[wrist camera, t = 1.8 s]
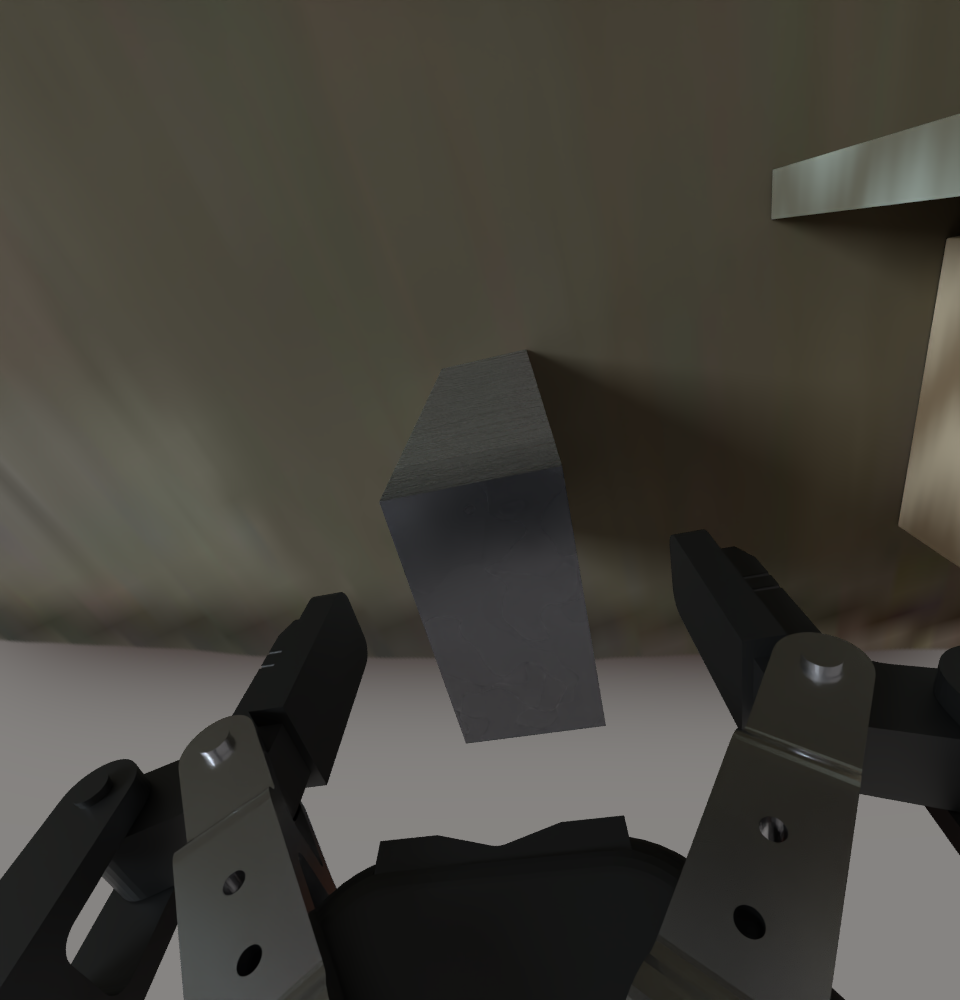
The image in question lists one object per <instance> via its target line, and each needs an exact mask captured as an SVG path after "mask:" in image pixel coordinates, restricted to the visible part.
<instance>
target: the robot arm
mask: <svg viewBox="0 0 960 1000" xmlns="http://www.w3.org/2000/svg"><path fill="white" fill-rule="evenodd" d="M670 555H671V569H672V582H673V593H674V598H675V602H676V606H677V609H678V612H679V614H680V616H681V618H682V620H683V622H684V624H685V626H686V628H687V630H688V632H689V634H690V636H691V638H692V640H693V642H694V644H695V645H696V647H697V649H698V651H699V653H700V655H701V657H702V659H703V661H704V663H705V665H706V667H707V669H708V670H709V673H710V674H711V676H712V678H713V680H714V682H715V684H716V686H717V688H718V690H719V692H720V694H721V696H722V697H723V700H724V701H725V703H726V705H727V707H728V709H729V711H730V713H731V715H732V717H733V719H734V721H735V723H736V725H737V727H738V728H737V729H736V730H735V732H734V734H733V736H732V738H731V740H730V743H729V746H728V748H727V751H726V754H725V756H724V759H723V762H722V765H721V767H720V770H719V773H718V775H717V778H716V781H715V784H714V786H713V789H712V792H711V794H710V797H709V799H708V802H707V805H706V808H705V810H704V813H703V816H702V818H701V821H700V824H699V826H698V829H697V832H696V835H695V837H694V840H693V843H692V846H691V848H690V851H689V853H688V856H687V858H685V857H683V856H682V855H680V854H678V853H677V852H675V851H672V850H670V849H668V848H666V847H663V846H661V845H658V844H655V843H652V842H649V841H646V840H642V839H637V838H632V837H629V835H628V830H627V826H626V822H625V817H624V816H615V817H605V818H596V819H586V820H577V821H568V822H560V823H558V824H555V825H553V826H551V827H548V828H545V829H543V830H540V831H538V832H535V833H533V834H530V835H528V836H525V837H523V838H520V839H517V840H515V841H513V842H510V843H507V844H505V845H501V846H490V845H485V844H480V843H475V842H470V841H464V840H459V839H454V838H449V837H443V836H438V835H436V836H426V837H417V838H407V839H399V840H389V841H381V842H380V846H379V851H378V856H377V861H376V865H373V866H371V867H369V868H367V869H365V870H363V871H362V872H360V873H358V874H356V875H355V876H353V877H352V878H351V879H349V880H348V881H346V882H345V883H343V884H342V885H341V886H340V887H338V888H336V886H335V884H334V881H333V879H332V877H331V874H330V872H329V869H328V867H327V864H326V861H325V858H324V856H323V853H322V851H321V848H320V846H319V843H318V840H317V838H316V835H315V832H314V830H313V827H312V825H311V822H310V819H309V817H308V814H307V812H306V809H305V807H304V805H303V804H302V802H301V798H302V796H303V793H304V790H305V788H307V787H315V786H323V785H327V783H328V780H329V777H330V774H331V771H332V767H333V764H334V761H335V758H336V755H337V752H338V749H339V746H340V743H341V740H342V736H343V734H344V730H345V728H346V725H347V721H348V718H349V715H350V712H351V709H352V706H353V703H354V699H355V697H356V694H357V691H358V688H359V685H360V682H361V679H362V675H363V672H364V669H365V666H366V662H367V644H366V640H365V637H364V635H363V632H362V630H361V628H360V625H359V623H358V621H357V618H356V616H355V613H354V611H353V609H352V606H351V604H350V602H349V599H348V597H347V596H346V595H345V594H344V593H342V592H339V593H334V594H328V595H322V596H316V597H313V598H311V599H310V601H309V603H308V604H307V606H306V608H305V610H304V612H303V613H302V615H301V617H300V619H299V620H295V621H293V622H292V623H291V624H290V625H289V626H288V627H287V628H286V629H285V630H284V631H283V632H282V633H281V634H280V635H279V636H278V638H277V640H276V641H275V643H274V645H273V647H272V648H271V650H270V655H267V657H266V659H265V660H264V662H263V664H262V665H261V666H262V669H259V671H258V672H257V674H256V676H255V677H254V679H253V681H252V683H251V684H250V686H249V688H248V689H247V691H246V693H245V694H244V696H243V698H242V700H241V701H240V703H239V705H238V707H237V708H236V710H235V712H234V713H233V715H232V716H229V717H226V718H223V719H221V720H218V721H217V722H215V723H213V724H211V725H210V726H208V727H207V728H205V729H204V730H203V731H202V732H200V733H199V734H198V735H197V736H196V737H195V738H194V739H193V740H192V741H191V742H190V743H189V745H188V746H187V747H186V749H185V750H184V752H183V754H182V756H181V758H180V760H178V761H175V762H173V763H170V764H168V765H165V766H163V767H161V768H158V769H156V770H153V771H151V772H148V773H146V774H143V773H142V771H141V770H140V769H139V767H138V766H137V765H136V764H135V763H134V762H133V761H131V760H129V759H122V760H116V761H113V762H110V763H108V764H106V765H103V766H101V767H100V768H98V769H96V770H94V771H93V772H91V773H90V774H88V775H87V776H85V777H84V778H83V779H82V780H80V781H79V782H78V783H77V784H76V785H75V786H73V787H72V788H71V789H70V790H69V792H68V793H67V794H66V795H65V796H64V797H63V798H62V800H61V801H60V802H59V803H58V805H57V806H56V807H55V809H54V810H53V811H52V813H51V814H50V815H49V817H48V818H47V819H46V821H45V822H44V823H43V825H42V826H41V827H40V828H39V830H38V831H37V832H36V834H35V835H34V836H33V838H32V839H31V840H30V841H29V843H28V844H27V845H26V847H25V848H24V849H23V851H22V852H21V853H20V855H19V856H18V857H17V858H16V860H15V861H14V863H13V864H12V865H11V866H10V868H9V869H8V870H7V872H6V873H5V874H4V876H3V877H2V878H1V880H0V1000H144V999H145V997H146V994H147V992H148V990H149V987H150V985H151V983H152V981H153V979H154V976H155V974H156V972H157V969H158V967H159V965H160V962H161V960H162V958H163V956H164V953H165V951H166V949H167V947H168V944H169V942H170V940H171V938H172V935H173V933H174V931H175V929H176V926H177V924H178V935H179V948H180V960H181V971H182V984H183V997H184V1000H845V999H844V998H843V997H842V996H840V995H839V994H838V993H837V992H836V991H835V990H834V989H833V988H832V982H833V975H834V968H835V961H836V954H837V947H838V940H839V932H840V926H841V918H842V912H843V905H844V897H845V890H846V883H847V877H848V870H849V862H850V856H851V848H852V841H853V834H854V827H855V820H856V813H857V806H858V799H859V794H864V795H870V796H874V797H880V798H885V799H891V800H897V801H902V802H907V803H912V804H918V805H924V806H925V807H926V809H927V810H928V811H929V813H930V814H931V815H932V817H933V818H934V820H935V821H936V823H937V824H938V825H939V827H940V828H941V829H942V831H943V832H944V834H945V835H946V837H947V838H948V839H949V841H950V842H951V844H952V845H953V846H954V848H955V849H956V851H957V852H958V853H959V855H960V646H957V647H954V648H951V649H949V650H947V651H946V652H945V653H944V654H943V655H942V656H941V658H940V660H939V665H938V668H927V667H915V666H904V665H894V664H886V663H879V662H874V661H871V660H870V658H869V657H868V656H867V655H866V654H865V653H864V652H863V651H861V650H860V649H859V648H857V647H856V646H854V645H853V644H851V643H849V642H847V641H845V640H843V639H840V638H838V637H835V636H831V635H827V634H822V633H821V632H820V631H819V630H818V629H817V628H816V626H815V625H814V624H813V623H812V622H811V621H810V620H809V618H808V617H807V616H806V615H805V614H804V613H803V612H802V610H801V609H800V608H799V607H798V606H797V605H796V604H795V602H794V601H793V600H792V599H791V598H790V597H789V596H788V594H787V593H786V592H785V591H784V590H783V589H782V588H780V587H779V584H778V583H777V582H776V581H775V579H774V578H773V577H772V576H771V575H769V574H768V571H767V570H766V569H765V568H764V567H763V566H762V565H761V563H760V562H759V561H758V560H757V559H756V558H755V557H754V556H752V555H750V554H748V553H746V552H744V551H742V550H740V549H738V548H737V547H735V546H734V547H728V548H722V549H721V548H720V547H719V546H718V544H717V543H716V542H715V541H714V539H713V538H712V537H711V535H710V534H709V533H708V532H707V531H706V530H704V529H703V530H697V531H692V532H686V533H680V534H675V535H671V536H670ZM101 877H103V878H104V879H105V880H106V881H107V882H108V883H109V884H110V885H111V886H112V887H113V888H114V889H113V891H112V893H111V895H110V896H109V898H108V900H107V902H106V903H105V905H104V907H103V909H102V911H101V912H100V914H99V916H98V918H97V919H96V921H95V923H94V925H93V926H92V929H91V930H90V932H89V934H88V935H87V937H86V939H85V941H84V942H83V944H82V946H81V948H80V950H79V951H78V953H77V955H76V956H75V958H74V960H73V962H72V963H71V964H70V963H69V962H68V960H67V957H66V942H67V938H68V935H69V932H70V930H71V927H72V925H73V924H74V922H75V920H76V918H77V917H78V915H79V913H80V912H81V910H82V908H83V907H84V905H85V903H86V902H87V900H88V898H89V897H90V895H91V893H92V892H93V890H94V888H95V887H96V885H97V883H98V882H99V880H100V878H101Z"/></svg>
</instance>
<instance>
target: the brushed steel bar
mask: <svg viewBox="0 0 960 1000" xmlns="http://www.w3.org/2000/svg"><path fill="white" fill-rule="evenodd" d="M380 505H381V508H382V511H383V513H384V516H385V519H386V522H387V524H388V527H389V530H390V533H391V536H392V538H393V541H394V544H395V547H396V550H397V552H398V555H399V558H400V561H401V563H402V566H403V569H404V572H405V575H406V577H407V580H408V583H409V586H410V589H411V591H412V594H413V597H414V600H415V602H416V605H417V608H418V611H419V614H420V616H421V619H422V622H423V625H424V627H425V630H426V633H427V636H428V639H429V641H430V644H431V647H432V650H433V653H434V655H435V658H436V661H437V663H438V666H439V669H440V672H441V675H442V678H443V680H444V683H445V686H446V688H447V691H448V694H449V697H450V700H451V703H452V705H453V708H454V711H455V714H456V717H457V719H458V722H459V725H460V727H461V730H462V733H463V736H464V739H465V742H466V743H474V742H482V741H489V740H497V739H505V738H513V737H521V736H528V735H535V734H536V735H537V734H544V733H552V732H560V731H568V730H575V729H583V728H591V727H599V726H606V724H605V718H604V712H603V706H602V701H601V695H600V689H599V683H598V677H597V671H596V665H595V659H594V653H593V647H592V641H591V635H590V629H589V623H588V617H587V611H586V605H585V599H584V593H583V587H582V582H581V576H580V570H579V564H578V558H577V552H576V546H575V540H574V534H573V528H572V522H571V516H570V510H569V504H568V498H567V492H566V486H565V480H564V474H563V469H562V464H561V461H560V458H559V454H558V451H557V448H556V445H555V441H554V438H553V435H552V432H551V428H550V425H549V422H548V419H547V415H546V412H545V409H544V406H543V402H542V399H541V396H540V393H539V389H538V386H537V383H536V380H535V376H534V373H533V370H532V367H531V364H530V360H529V357H528V354H527V351H526V350H522V351H518V352H514V353H509V354H505V355H500V356H496V357H492V358H487V359H483V360H479V361H474V362H470V363H466V364H461V365H457V366H453V367H448V368H444V369H442V370H441V372H440V374H439V376H438V378H437V380H436V382H435V385H434V387H433V389H432V391H431V393H430V395H429V397H428V399H427V402H426V404H425V406H424V408H423V410H422V412H421V414H420V416H419V419H418V421H417V423H416V425H415V427H414V429H413V431H412V434H411V436H410V438H409V440H408V442H407V444H406V446H405V448H404V451H403V453H402V455H401V457H400V459H399V461H398V463H397V465H396V468H395V470H394V472H393V474H392V476H391V478H390V480H389V482H388V485H387V487H386V489H385V491H384V493H383V495H382V497H381V499H380Z"/></svg>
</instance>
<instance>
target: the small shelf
mask: <svg viewBox="0 0 960 1000" xmlns="http://www.w3.org/2000/svg"><path fill="white" fill-rule="evenodd" d="M957 196H960V114H957V115H954V116H950V117H947V118H944V119H940V120H937V121H934V122H930V123H927V124H924V125H920V126H917V127H914V128H910V129H907V130H904V131H900V132H897V133H894V134H891V135H887V136H884V137H881V138H877V139H874V140H871V141H867V142H864V143H861V144H857V145H854V146H851V147H847V148H844V149H841V150H837V151H834V152H831V153H827V154H824V155H821V156H818V157H814V158H811V159H808V160H804V161H801V162H798V163H794V164H791V165H788V166H784V167H781V168H778V169H774V170H773V180H772V215H771V219H779V218H787V217H795V216H803V215H811V214H819V213H827V212H836V211H844V210H852V209H860V208H868V207H876V206H884V205H892V204H901V203H909V202H917V201H925V200H933V199H941V198H949V197H957ZM898 526H899V527H901V528H902V529H903V530H905V531H906V532H908V533H909V534H911V535H912V536H914V537H915V538H917V539H918V540H920V541H921V542H923V543H924V544H926V545H927V546H929V547H930V548H931V549H933V550H934V551H936V552H937V553H939V554H940V555H942V556H943V557H945V558H946V559H948V560H949V561H951V562H952V563H954V564H955V565H956V566H958V567H959V568H960V236H956V237H951V238H947V240H946V246H945V252H944V258H943V264H942V270H941V275H940V281H939V287H938V293H937V299H936V305H935V311H934V317H933V323H932V329H931V334H930V340H929V346H928V352H927V358H926V364H925V370H924V376H923V382H922V387H921V393H920V399H919V405H918V411H917V417H916V423H915V429H914V435H913V441H912V446H911V452H910V458H909V464H908V470H907V476H906V482H905V488H904V494H903V500H902V505H901V511H900V517H899V523H898Z"/></svg>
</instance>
